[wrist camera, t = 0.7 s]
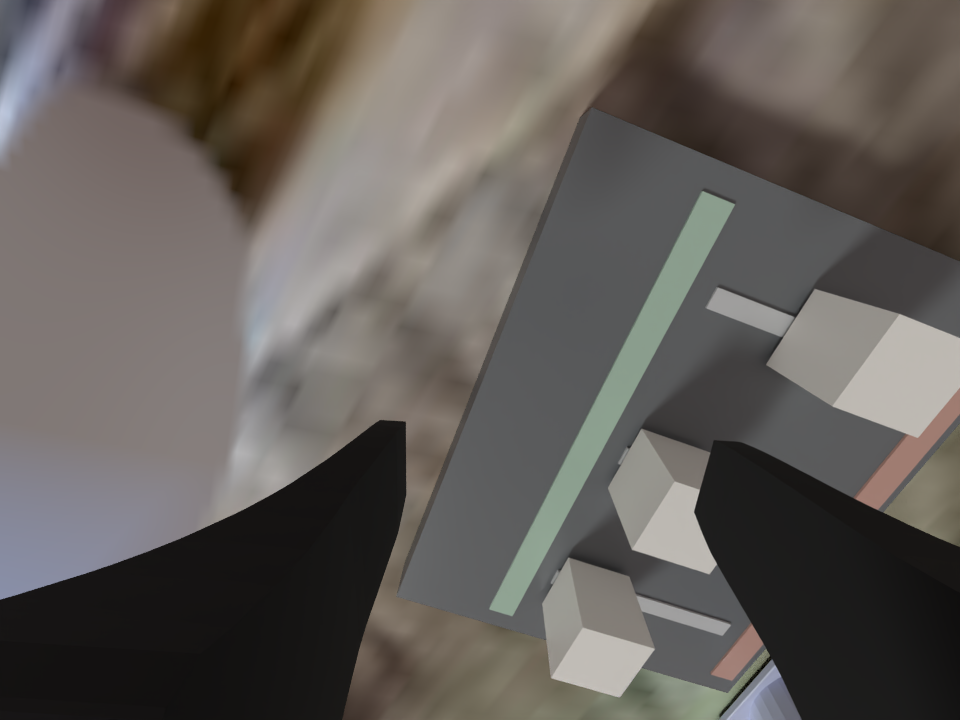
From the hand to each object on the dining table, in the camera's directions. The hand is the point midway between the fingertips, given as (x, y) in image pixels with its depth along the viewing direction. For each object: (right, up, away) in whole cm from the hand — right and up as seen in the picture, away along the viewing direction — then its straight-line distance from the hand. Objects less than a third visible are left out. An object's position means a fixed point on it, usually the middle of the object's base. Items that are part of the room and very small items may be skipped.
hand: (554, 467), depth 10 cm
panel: (+6, -1, +10) cm, 12 cm away
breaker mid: (+5, -2, +8) cm, 10 cm away
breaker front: (+11, +3, +5) cm, 12 cm away
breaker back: (+3, -8, +10) cm, 13 cm away
